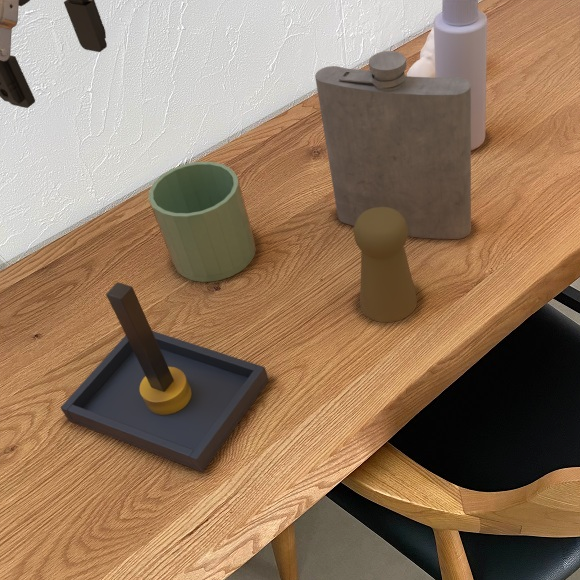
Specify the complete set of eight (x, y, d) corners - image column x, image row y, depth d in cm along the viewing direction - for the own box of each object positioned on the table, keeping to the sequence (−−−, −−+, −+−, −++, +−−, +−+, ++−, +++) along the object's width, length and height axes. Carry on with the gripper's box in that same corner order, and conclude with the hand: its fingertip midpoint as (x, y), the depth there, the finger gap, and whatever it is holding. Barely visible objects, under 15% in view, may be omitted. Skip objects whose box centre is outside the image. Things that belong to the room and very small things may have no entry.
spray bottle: (494, 144, 100) (499, -41, 83) (451, 159, 99) (448, -26, 82) (470, 121, 104) (470, -60, 87) (429, 135, 102) (421, -46, 85)
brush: (136, 407, 76) (81, 300, 65) (163, 374, 78) (114, 267, 68) (174, 420, 75) (123, 314, 64) (200, 387, 77) (156, 279, 66)
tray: (68, 421, 76) (59, 407, 75) (141, 339, 83) (134, 324, 81) (202, 472, 71) (196, 459, 70) (269, 381, 78) (264, 366, 76)
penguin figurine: (485, 9, 104) (424, 54, 100) (488, 68, 111) (431, 113, 107) (448, -4, 107) (388, 40, 103) (453, 55, 114) (397, 98, 110)
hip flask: (473, 223, 91) (474, 53, 75) (465, 246, 88) (463, 76, 73) (343, 205, 94) (317, 40, 79) (331, 226, 92) (303, 61, 77)
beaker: (157, 270, 89) (130, 204, 82) (203, 220, 95) (182, 154, 88) (226, 290, 86) (205, 224, 79) (271, 237, 92) (254, 171, 85)
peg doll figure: (405, 327, 81) (398, 242, 72) (351, 315, 83) (337, 231, 74) (425, 288, 84) (419, 203, 76) (372, 277, 86) (361, 193, 78)
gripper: (-9, -211, 54) (81, 26, 67) (-182, -138, 46) (-42, 115, 59) (76, -206, 52) (153, 39, 64) (-90, -127, 44) (35, 134, 56)
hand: (60, 75), depth 62 cm, fingers open, 8 cm apart
